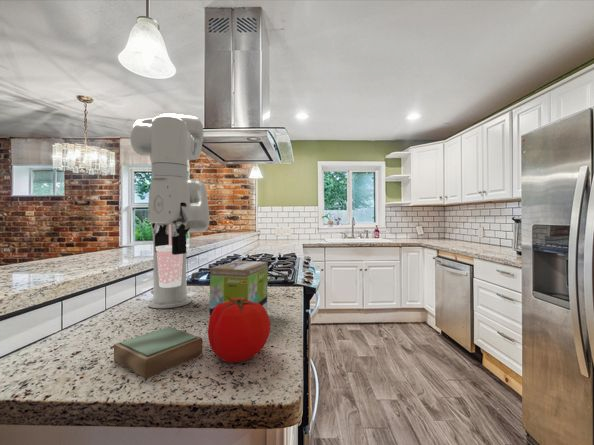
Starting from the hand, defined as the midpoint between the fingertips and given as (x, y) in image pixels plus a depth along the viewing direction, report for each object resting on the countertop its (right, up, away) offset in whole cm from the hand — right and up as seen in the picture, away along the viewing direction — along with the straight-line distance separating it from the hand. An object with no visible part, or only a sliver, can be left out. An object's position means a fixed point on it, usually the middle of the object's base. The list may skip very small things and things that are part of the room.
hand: (170, 252), depth 68 cm
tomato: (+18, -19, -13) cm, 29 cm away
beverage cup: (0, -8, 0) cm, 8 cm away
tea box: (+15, -19, +8) cm, 25 cm away
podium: (+3, -18, -12) cm, 22 cm away
